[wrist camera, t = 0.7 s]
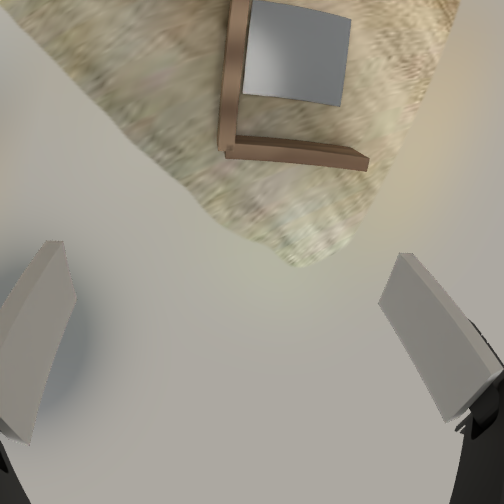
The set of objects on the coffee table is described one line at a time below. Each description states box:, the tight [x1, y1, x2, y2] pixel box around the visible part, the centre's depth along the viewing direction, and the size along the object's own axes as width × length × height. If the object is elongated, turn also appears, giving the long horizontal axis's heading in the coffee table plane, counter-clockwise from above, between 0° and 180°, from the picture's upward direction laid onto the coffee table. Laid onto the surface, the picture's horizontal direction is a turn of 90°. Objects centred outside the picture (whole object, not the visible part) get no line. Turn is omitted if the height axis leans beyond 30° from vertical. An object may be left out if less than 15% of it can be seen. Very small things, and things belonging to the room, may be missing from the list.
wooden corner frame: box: [217, 0, 369, 172], centre depth 27 cm, size 21×16×5 cm
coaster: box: [242, 0, 351, 107], centre depth 28 cm, size 11×11×1 cm
